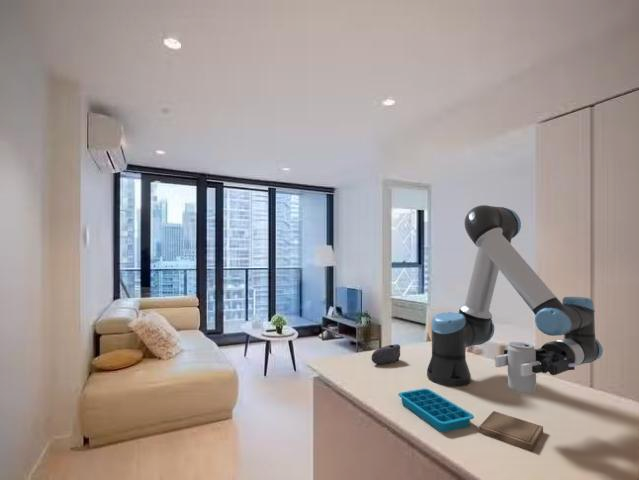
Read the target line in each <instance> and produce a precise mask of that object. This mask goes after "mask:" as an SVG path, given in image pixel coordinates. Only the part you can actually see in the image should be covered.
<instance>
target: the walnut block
mask: <svg viewBox="0 0 639 480" xmlns="http://www.w3.org/2000/svg"><path fill="white" fill-rule="evenodd" d="M478 433H479V434H482V435H485V436H488V437H491V438H494V439H497V440H499V441H502V442H504V443H507V444H510V445H513V446H515V447H518V448H522V449H524V450H527V451H530V452H533V451H534V450H535V448H536V446H537V445H538V442H539V440H540V438H541V436H543V435H542V434H543V433H544V426H543V425H541V424H537V423H534V422H530V421H527V420H525V419H520V418H518V417H515V416H511V415H508V414H504V413H501V412H498V411H495V410H492V412H491V413H490V414H489V415H488V416H487V417H486V419H484V420H483V422H482V423H481V424H480V425H478Z"/></svg>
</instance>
